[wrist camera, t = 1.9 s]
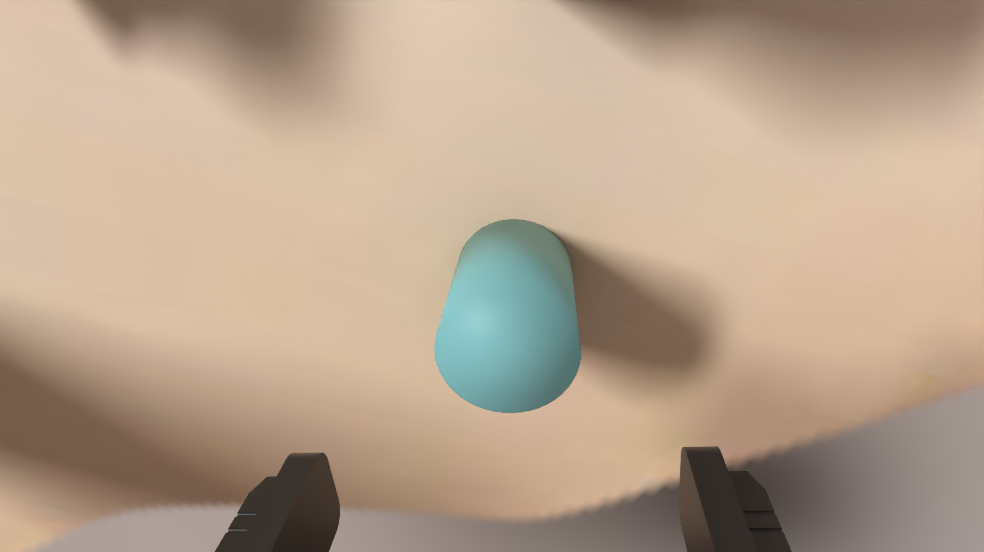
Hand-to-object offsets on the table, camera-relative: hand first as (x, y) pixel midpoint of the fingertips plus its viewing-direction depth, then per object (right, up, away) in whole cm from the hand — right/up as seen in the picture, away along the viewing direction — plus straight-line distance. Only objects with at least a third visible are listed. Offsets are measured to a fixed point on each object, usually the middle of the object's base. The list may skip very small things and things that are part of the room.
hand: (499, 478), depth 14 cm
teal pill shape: (+1, +5, +11) cm, 12 cm away
